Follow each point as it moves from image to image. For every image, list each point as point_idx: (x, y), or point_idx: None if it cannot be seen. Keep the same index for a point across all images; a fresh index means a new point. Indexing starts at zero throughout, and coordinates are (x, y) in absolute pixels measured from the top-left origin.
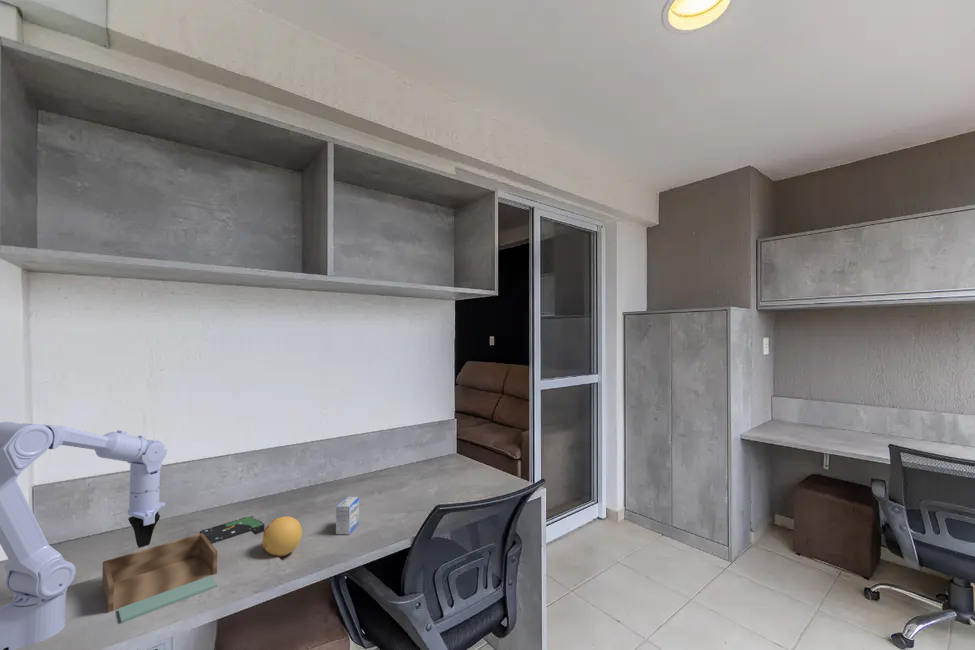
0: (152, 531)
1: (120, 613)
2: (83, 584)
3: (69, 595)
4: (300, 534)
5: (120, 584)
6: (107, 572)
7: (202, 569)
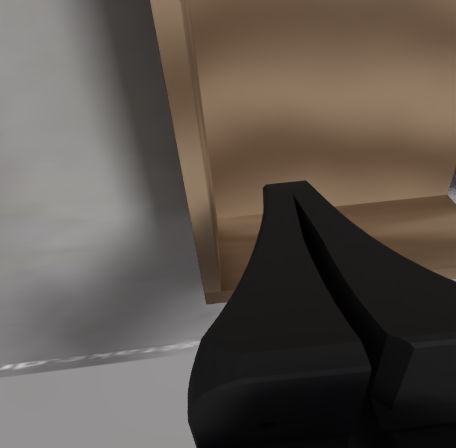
0: (367, 236)
1: None
2: (101, 259)
3: (162, 279)
4: None
5: (249, 182)
6: None
7: None
